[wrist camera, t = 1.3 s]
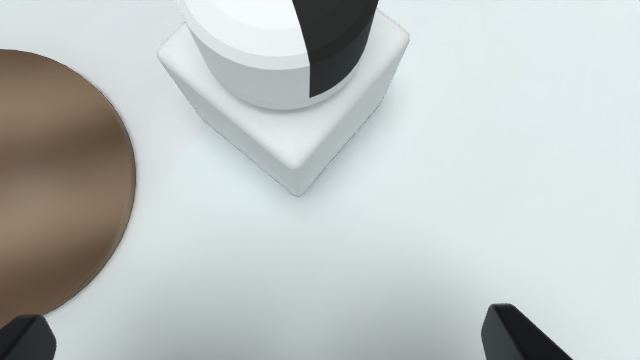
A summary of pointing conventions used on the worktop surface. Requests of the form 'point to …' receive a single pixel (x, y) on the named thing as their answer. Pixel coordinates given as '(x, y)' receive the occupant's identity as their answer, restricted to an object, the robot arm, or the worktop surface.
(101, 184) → the walnut coaster
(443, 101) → the worktop surface
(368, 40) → the medicine bottle
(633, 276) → the worktop surface
